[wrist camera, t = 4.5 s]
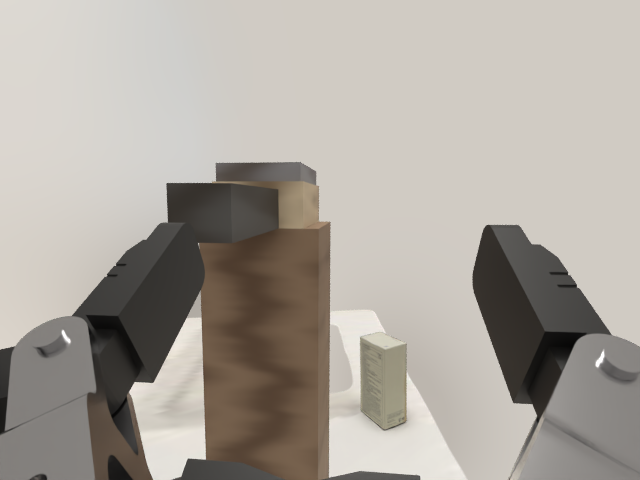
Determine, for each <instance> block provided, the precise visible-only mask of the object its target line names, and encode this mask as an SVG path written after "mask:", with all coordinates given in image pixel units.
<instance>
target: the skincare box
mask: <svg viewBox="0 0 640 480" xmlns="http://www.w3.org/2000/svg"><path fill="white" fill-rule="evenodd" d="M406 345H407V344H406V343H405V342H403V341H401V340H398V339H396V338H394V337H392V336H389V335H387V334H385V333H383V332H378V333H373V334H369V335H364V336H360V366H361V411H362V412H363V413H365V414H366V415H367V416H368V417H369V418H371V419H372V420H373V421H374V422H375V423H377V424H378V425H379V426H381V427H382V428H383V429H385V430H386V429H388V428H391V427H393V426H396V425H398V424H401V423H403V422H405V421H406Z"/></svg>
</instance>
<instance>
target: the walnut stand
mask: <svg viewBox="0 0 640 480" xmlns="http://www.w3.org/2000/svg"><path fill="white" fill-rule="evenodd" d="M199 247H200V253H201V256H202V260H203V263H204V267H205V279H204V283H203V286H202V288H201V311H202V343H203V375H204V407H205V439H206V460H213V461H227V462H240V463H244V464H247V465H249V466H252V467H254V468H257V469H259V470H262V471H265V472H267V473H270V474H272V475H275V476H277V477H280V478H282V479H285V480H322V479H327V478H329V349H330V348H329V346H330V345H329V343H330V222H317V223H315V224H312V225H310V226H308V227H306V228H304V229H287V228H278V229H275V230H272V231H269V232H266V233H263V234H260V235H257V236H254V237H250V238H247V239H244V240H241V241H238V242H235V243H199Z"/></svg>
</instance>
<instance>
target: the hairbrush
mask: <svg viewBox="0 0 640 480" xmlns="http://www.w3.org/2000/svg"><path fill="white" fill-rule="evenodd" d="M167 206H168V207H167V208H168V223H189V224H190V225H191V226H192V227H193V230H194V233H195V236H196V240H197V243H235V242H238V241H241V240H244V239H247V238H250V237H254V236H257V235H260V234H263V233H266V232H269V231H272V230H275V229H278V228H287V229H304V228H306V227H308V226H310V225H312V224H315V223H317V222H319V186H316V171H314V170H312V169H311V168H309V167H308V166H306V165H304V164H302V163H301V162H285V163H216V182H212V183H167Z"/></svg>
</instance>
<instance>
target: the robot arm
mask: <svg viewBox="0 0 640 480" xmlns="http://www.w3.org/2000/svg"><path fill="white" fill-rule="evenodd" d="M204 279H205V267H204V263H203V260H202V256H201V253H200V250H199V246H198V243H197V240H196V236H195V233H194V230H193V227H192V226H191V225H190V224H189V223H160V224H159V225H158V226H157V227H156V229H155V230H154V231H153V232H152V234H151V235H150V236H149V237H148V238H147V240H142V241H141V242H139V243H138V244H137V245H135V246H133V247H132V248H131V249H129V250H127V251H126V253H125V254H124V255H123V256H122V257H121V259H120V260H119V261H118V262H117V263H116V266H114V267H113V268H112V269H111V270H110V272H109V273H108V274H107V277H104V279H103V280H102V281H101V282H100V283H99V284H98V286H97V287H96V288H95V289H94V290H93V291H92V293H91V294H90V295H89V296H88V297H87V299H86V300H85V301H84V302H83V303H82V304H81V306H80V307H79V308H78V309H77V311H76V312H75V313H74V314H73V315H72V316H67V317H61V318H56V319H53V320H50V321H48V322H45V323H43V324H41V325H40V326H38V327H36V328H34V329H33V330H32V331H30V332H29V333H27V334H26V335H25V336H24V337H23V338H22V339H21V340H20V341H19V342H18V344H17V345H16V346H15V347H10V348H6V349H1V350H0V480H153V478H152V476H151V474H150V472H149V469H148V466H147V463H146V459H145V454H144V450H143V446H142V441H141V437H140V432H139V428H138V423H137V419H136V414H135V410H134V405H133V401H132V398H131V395H130V394H129V391H130V389H131V387H132V385H133V384H134V382H147V383H153V382H154V381H155V379H156V377H157V375H158V373H159V371H160V369H161V367H162V365H163V363H164V361H165V359H166V357H167V355H168V353H169V351H170V349H171V347H172V345H173V343H174V341H175V339H176V337H177V335H178V333H179V331H180V329H181V327H182V326H183V324H184V322H185V320H186V318H187V316H188V314H189V312H190V310H191V308H192V306H193V304H194V302H195V300H196V298H197V296H198V294H199V292H200V290H201V288H202V286H203V283H204ZM473 289H474V294H475V297H476V300H477V302H478V305H479V308H480V311H481V314H482V317H483V319H484V322H485V325H486V327H487V331H488V333H489V336H490V339H491V342H492V345H493V347H494V350H495V353H496V356H497V359H498V361H499V364H500V367H501V370H502V372H503V375H504V378H505V381H506V384H507V387H508V390H509V392H510V395H511V398H512V401H513V403H521V404H533V407H534V409H535V411H536V414H537V417H536V419H535V421H534V423H533V425H532V427H531V429H530V432H529V434H528V436H527V438H526V440H525V443H524V445H523V447H522V449H521V451H520V454H519V456H518V458H517V460H516V462H515V465H514V467H513V469H512V471H511V474H510V476H509V478H508V480H640V347H639V346H637V345H636V344H634V343H632V342H629V341H627V340H625V339H622V338H619V337H616V336H612V335H611V333H610V332H609V330H608V329H607V327H606V326H605V325H604V323H603V322H602V320H601V319H600V317H599V316H598V314H597V313H596V312H595V310H594V309H593V307H592V306H591V304H590V303H589V301H588V300H587V299H586V297H585V296H584V294H583V293H582V291H581V290H580V289H579V288H577V284H576V283H575V281H574V280H573V279H572V277H571V276H570V275H568V271H567V270H566V268H565V267H564V266H563V264H562V263H561V262H560V260H559V258H558V257H557V256H555V255H554V254H552V253H551V252H550V251H548V250H547V249H546V248H544V247H543V246H541V245H532V244H531V243H530V241H529V240H528V238H527V237H526V235H525V233H524V232H523V230H522V229H521V227H520V226H518V225H487V226H486V227H485V228H484V230H483V233H482V238H481V241H480V245H479V250H478V253H477V257H476V261H475V266H474V270H473ZM173 480H285V479H282V478H280V477H277V476H275V475H272V474H270V473H267V472H265V471H262V470H259V469H257V468H254V467H252V466H249V465H247V464H244V463H240V462H227V461H213V460H199V459H188V460H187V462H186V465H185V468H184V471H183V474H182V476H181V477H179V478H176V479H173ZM322 480H420V476H418V475H404V474H390V473H377V472H363V471H359V472H354V473H350V474H345V475H340V476H336V477H331V478H327V479H322Z"/></svg>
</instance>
